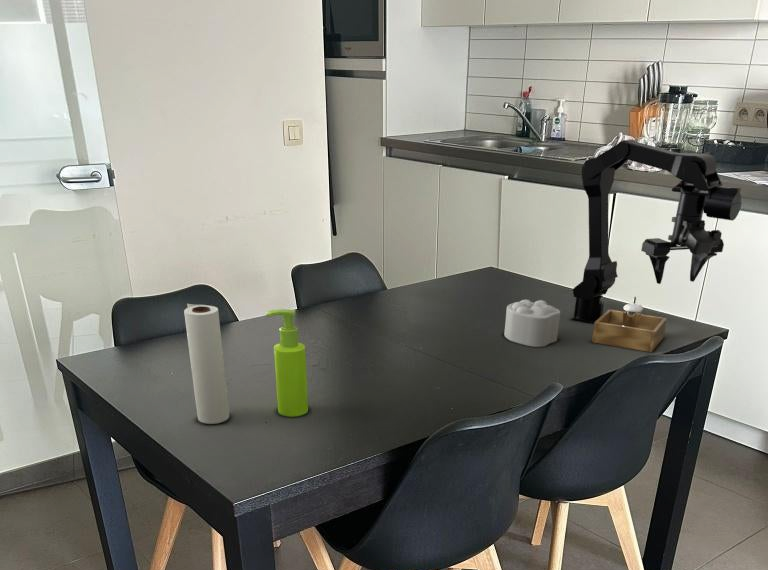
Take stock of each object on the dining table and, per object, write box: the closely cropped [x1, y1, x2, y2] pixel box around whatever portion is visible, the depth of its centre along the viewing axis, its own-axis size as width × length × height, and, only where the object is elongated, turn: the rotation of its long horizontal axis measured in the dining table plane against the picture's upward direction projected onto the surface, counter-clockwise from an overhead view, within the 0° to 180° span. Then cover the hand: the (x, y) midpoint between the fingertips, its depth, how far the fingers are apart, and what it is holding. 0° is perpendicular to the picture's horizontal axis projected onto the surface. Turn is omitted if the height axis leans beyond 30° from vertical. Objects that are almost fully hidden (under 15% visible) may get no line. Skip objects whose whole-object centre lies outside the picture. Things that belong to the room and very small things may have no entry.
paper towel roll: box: [183, 303, 230, 425], centre depth 144 cm, size 7×6×21 cm
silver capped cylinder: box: [622, 296, 644, 328], centre depth 189 cm, size 4×5×10 cm
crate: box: [591, 309, 668, 353], centre depth 190 cm, size 15×13×5 cm
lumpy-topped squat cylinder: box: [503, 299, 561, 348], centre depth 190 cm, size 10×13×9 cm
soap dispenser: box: [265, 308, 309, 418], centre depth 147 cm, size 6×7×20 cm
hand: (675, 282), depth 186 cm, fingers open, 9 cm apart
